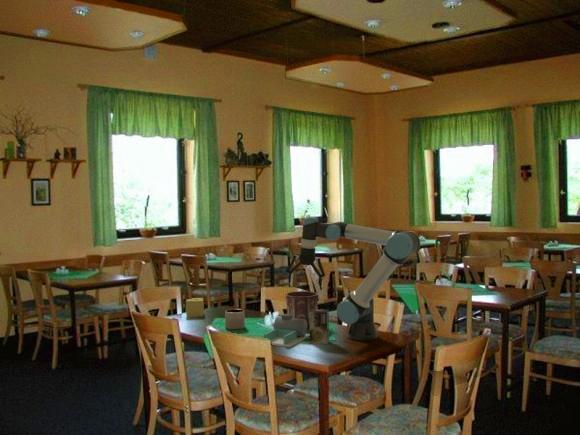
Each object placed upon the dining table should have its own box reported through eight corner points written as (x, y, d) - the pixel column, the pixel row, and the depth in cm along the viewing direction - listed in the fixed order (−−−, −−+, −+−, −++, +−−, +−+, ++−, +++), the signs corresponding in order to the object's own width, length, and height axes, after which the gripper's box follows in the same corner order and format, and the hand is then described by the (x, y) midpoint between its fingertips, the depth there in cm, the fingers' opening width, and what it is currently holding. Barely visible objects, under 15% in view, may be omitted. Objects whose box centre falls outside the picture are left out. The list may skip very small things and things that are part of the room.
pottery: (307, 320, 356) (306, 289, 355) (324, 326, 340) (323, 294, 339) (280, 324, 347) (279, 293, 346) (296, 331, 332) (295, 298, 330)
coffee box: (329, 341, 309) (329, 309, 308) (327, 344, 303) (327, 312, 302) (311, 340, 311) (311, 308, 310) (309, 343, 305) (308, 311, 304)
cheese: (186, 314, 380) (186, 297, 379) (204, 313, 381) (204, 297, 381) (186, 317, 370) (185, 301, 369) (204, 316, 371) (203, 300, 370)
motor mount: (310, 335, 320) (310, 314, 319) (289, 347, 299) (289, 323, 298) (278, 332, 329) (278, 311, 328) (256, 343, 307) (255, 320, 307)
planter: (241, 330, 335) (241, 313, 334) (222, 329, 337) (222, 312, 336) (247, 325, 345) (246, 308, 345) (228, 325, 348) (228, 308, 347)
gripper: (333, 249, 314) (329, 289, 317) (285, 243, 319) (281, 283, 321) (331, 251, 307) (327, 292, 310) (282, 245, 311) (278, 286, 314)
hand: (304, 287), depth 315 cm, fingers open, 13 cm apart
